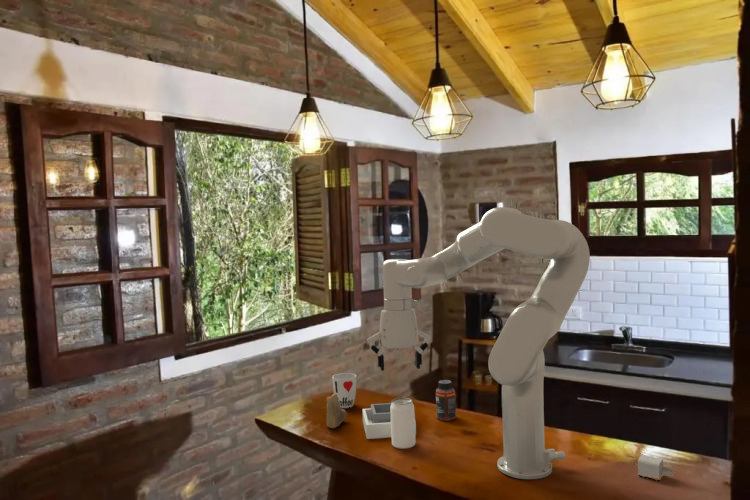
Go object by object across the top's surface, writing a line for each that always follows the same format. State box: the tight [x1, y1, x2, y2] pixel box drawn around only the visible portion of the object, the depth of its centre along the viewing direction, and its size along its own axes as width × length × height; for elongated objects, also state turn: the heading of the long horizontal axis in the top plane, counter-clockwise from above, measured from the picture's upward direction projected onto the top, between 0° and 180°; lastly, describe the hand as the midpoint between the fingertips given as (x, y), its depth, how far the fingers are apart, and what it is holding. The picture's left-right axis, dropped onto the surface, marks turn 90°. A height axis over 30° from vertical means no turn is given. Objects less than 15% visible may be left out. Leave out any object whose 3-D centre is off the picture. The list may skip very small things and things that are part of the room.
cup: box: [331, 372, 357, 409], centre depth 182 cm, size 8×8×10 cm
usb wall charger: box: [637, 454, 676, 479], centre depth 122 cm, size 4×7×4 cm, turn 50°
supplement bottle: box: [435, 379, 457, 422], centre depth 166 cm, size 6×6×11 cm
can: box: [390, 397, 416, 450], centre depth 147 cm, size 6×6×12 cm
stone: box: [326, 393, 348, 429], centre depth 164 cm, size 9×5×10 cm, turn 155°
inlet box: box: [362, 402, 417, 440], centre depth 160 cm, size 14×14×6 cm
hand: (400, 368), depth 146 cm, fingers open, 9 cm apart
